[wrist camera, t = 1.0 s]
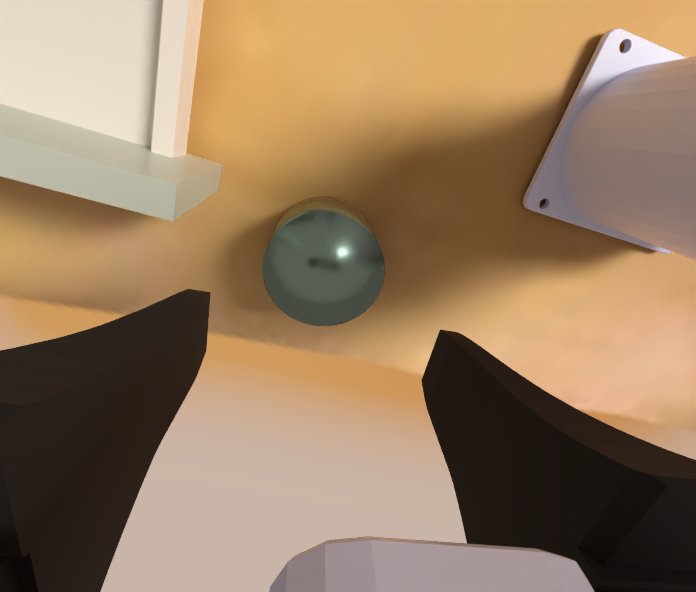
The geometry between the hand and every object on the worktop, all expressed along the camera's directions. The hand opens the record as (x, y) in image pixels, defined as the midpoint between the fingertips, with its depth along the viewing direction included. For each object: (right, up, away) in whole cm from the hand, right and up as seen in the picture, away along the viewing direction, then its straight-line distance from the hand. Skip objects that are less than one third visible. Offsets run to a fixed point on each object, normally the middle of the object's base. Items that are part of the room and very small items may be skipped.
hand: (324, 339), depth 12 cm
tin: (0, +4, +8) cm, 9 cm away
